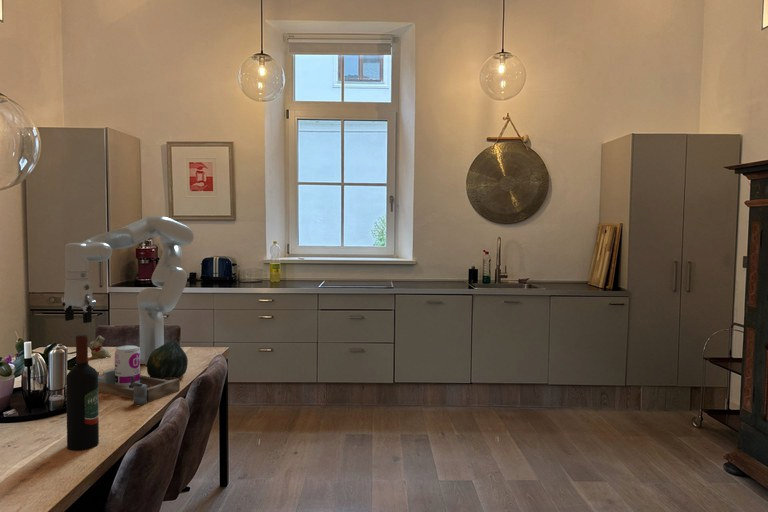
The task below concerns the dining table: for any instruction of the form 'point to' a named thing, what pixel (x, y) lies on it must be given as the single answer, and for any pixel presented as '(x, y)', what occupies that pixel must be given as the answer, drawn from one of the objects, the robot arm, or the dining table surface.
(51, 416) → the dining table surface
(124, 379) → the supplement can
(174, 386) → the bay
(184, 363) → the squash
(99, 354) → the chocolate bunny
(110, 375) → the follower
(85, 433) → the wine bottle
